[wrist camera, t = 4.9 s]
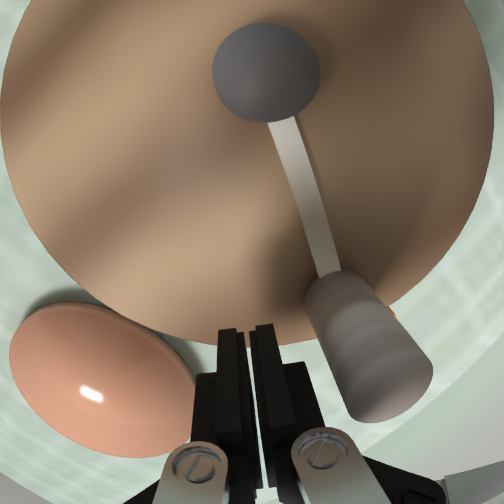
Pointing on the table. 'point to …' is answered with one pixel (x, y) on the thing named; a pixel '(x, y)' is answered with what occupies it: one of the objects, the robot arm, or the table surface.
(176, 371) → the peach dome
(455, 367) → the table surface
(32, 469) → the table surface
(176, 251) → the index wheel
